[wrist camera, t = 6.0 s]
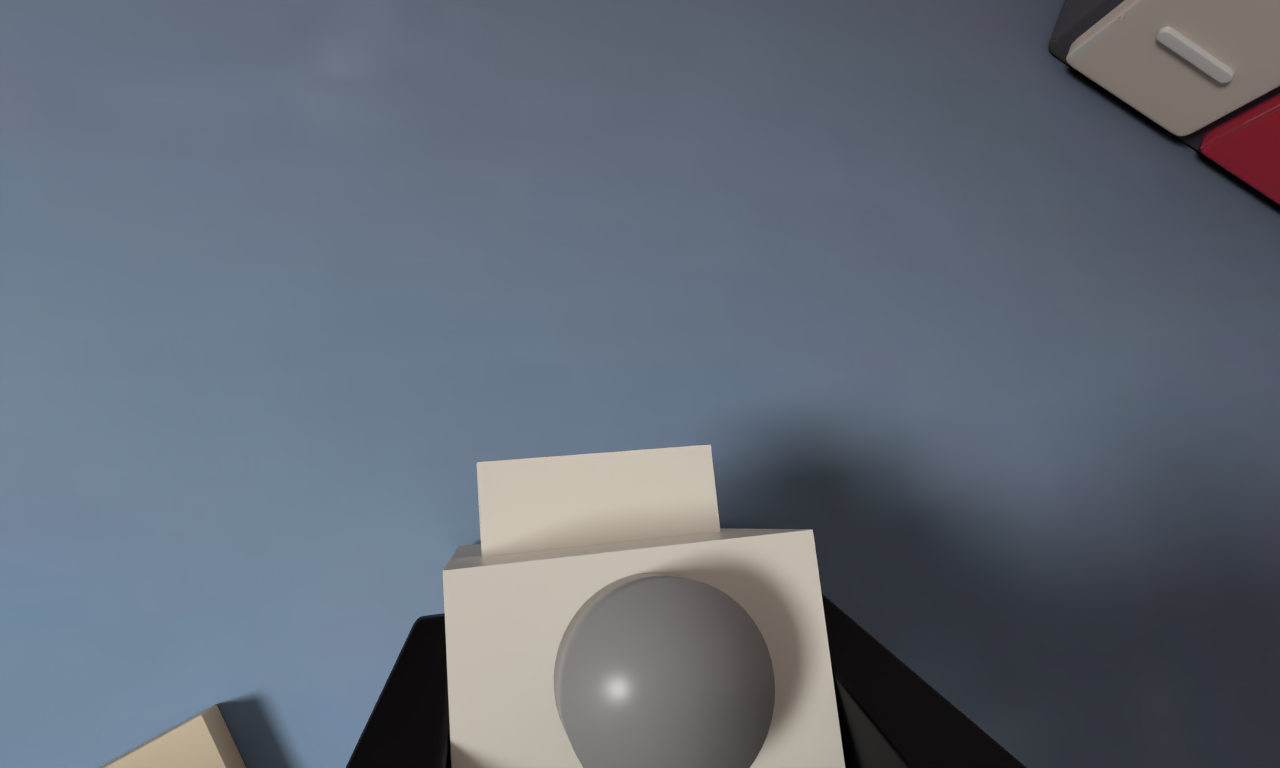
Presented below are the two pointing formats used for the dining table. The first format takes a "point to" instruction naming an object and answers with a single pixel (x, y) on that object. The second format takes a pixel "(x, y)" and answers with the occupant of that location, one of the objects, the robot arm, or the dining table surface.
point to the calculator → (1188, 72)
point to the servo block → (633, 624)
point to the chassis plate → (187, 746)
